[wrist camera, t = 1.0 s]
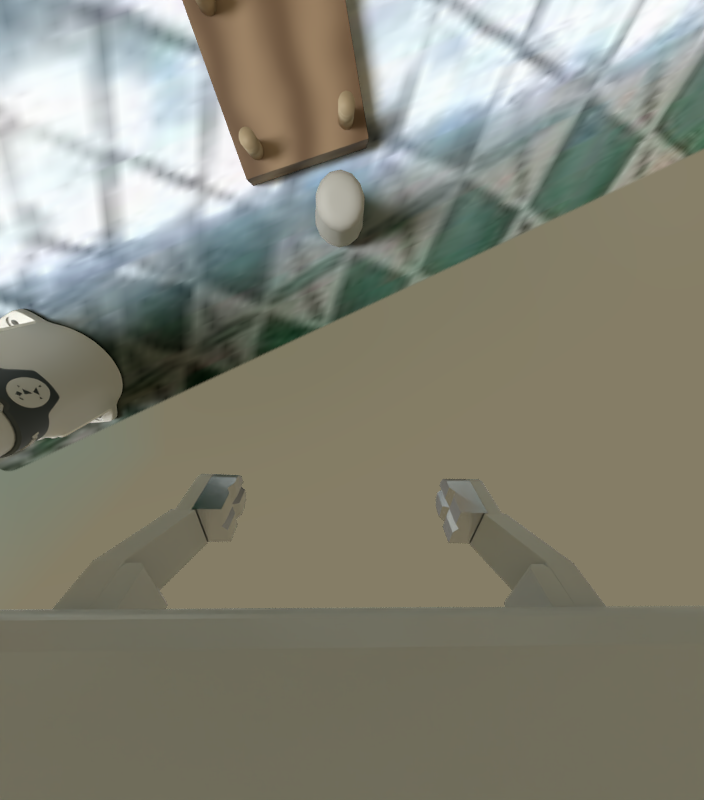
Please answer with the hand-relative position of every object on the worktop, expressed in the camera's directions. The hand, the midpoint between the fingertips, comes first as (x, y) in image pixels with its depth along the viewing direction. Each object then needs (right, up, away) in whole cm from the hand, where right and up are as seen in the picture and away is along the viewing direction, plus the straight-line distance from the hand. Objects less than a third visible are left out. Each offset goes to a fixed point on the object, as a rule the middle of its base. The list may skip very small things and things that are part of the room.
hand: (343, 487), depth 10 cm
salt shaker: (-1, +27, +22) cm, 35 cm away
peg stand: (-7, +37, +16) cm, 41 cm away
